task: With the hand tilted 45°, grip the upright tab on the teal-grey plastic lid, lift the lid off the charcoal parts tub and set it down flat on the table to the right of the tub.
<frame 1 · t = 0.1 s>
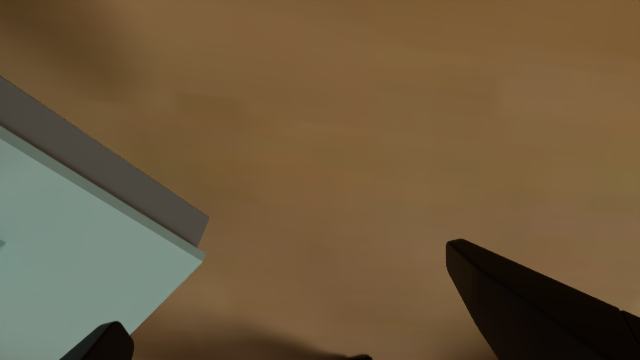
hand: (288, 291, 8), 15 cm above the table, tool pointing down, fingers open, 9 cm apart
tub: (42, 210, 21), on the table
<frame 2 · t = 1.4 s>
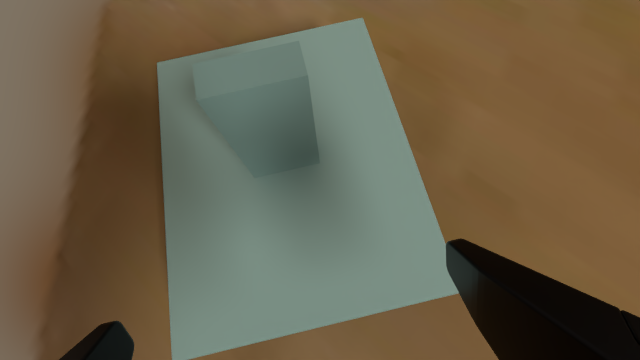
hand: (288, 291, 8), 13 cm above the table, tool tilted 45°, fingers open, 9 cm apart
lid: (287, 163, 19), point 4 cm above the table, touching tub
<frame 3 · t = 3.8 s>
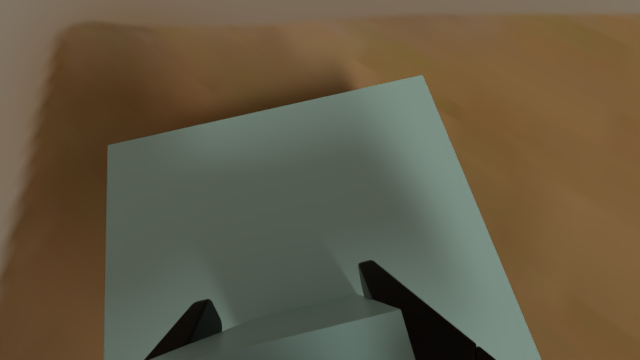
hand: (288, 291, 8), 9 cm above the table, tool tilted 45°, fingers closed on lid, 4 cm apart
lid: (311, 327, 12), point 4 cm above the table, touching gripper, tub
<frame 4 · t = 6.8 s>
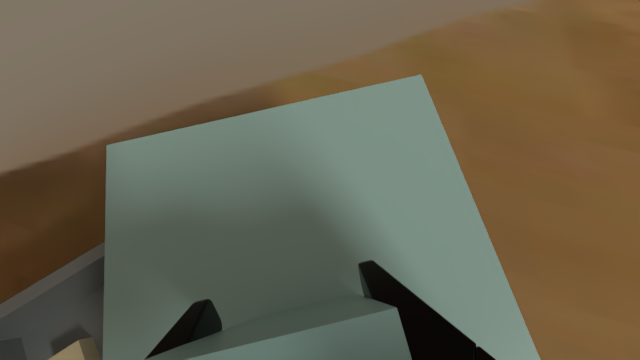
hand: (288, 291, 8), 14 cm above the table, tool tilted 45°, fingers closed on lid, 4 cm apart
lid: (310, 326, 12), point 9 cm above the table, touching gripper
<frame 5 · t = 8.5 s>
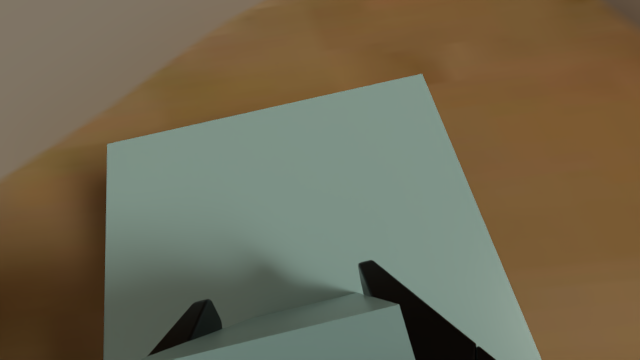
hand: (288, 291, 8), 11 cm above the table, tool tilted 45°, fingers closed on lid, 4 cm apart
lid: (311, 325, 12), point 7 cm above the table, touching gripper
when the fingers open (6 cm above the table, at t = 9.8 s): lid drops 2 cm, point 1 cm above the table.
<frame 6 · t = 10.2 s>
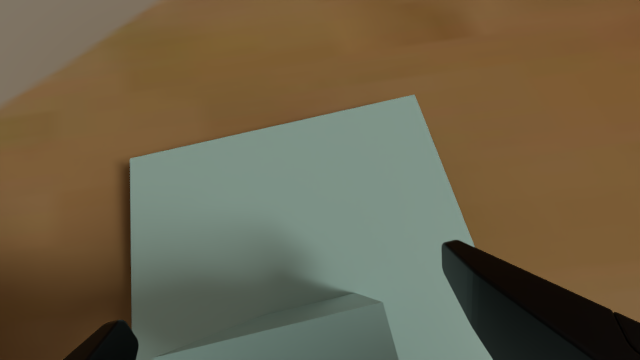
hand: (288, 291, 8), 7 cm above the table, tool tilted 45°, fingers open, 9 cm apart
lid: (314, 322, 13), point 1 cm above the table
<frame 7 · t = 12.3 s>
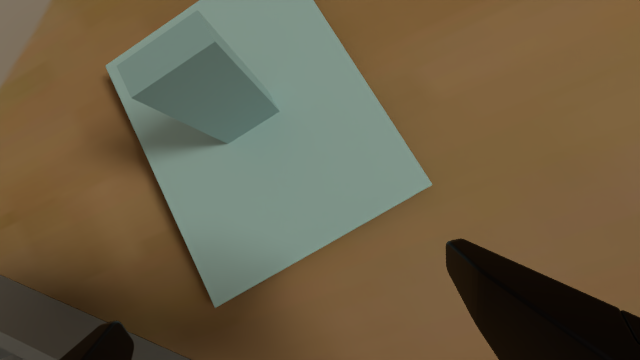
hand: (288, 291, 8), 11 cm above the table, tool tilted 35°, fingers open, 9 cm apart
lid: (253, 121, 20), point 1 cm above the table
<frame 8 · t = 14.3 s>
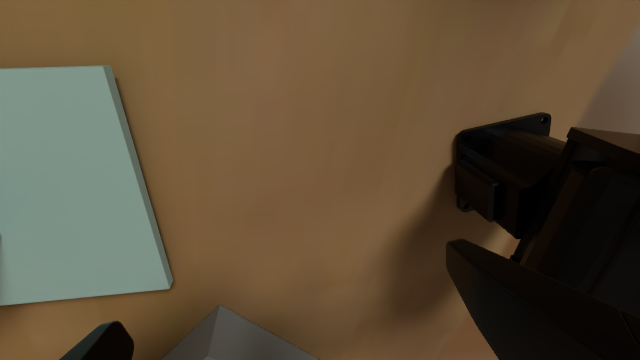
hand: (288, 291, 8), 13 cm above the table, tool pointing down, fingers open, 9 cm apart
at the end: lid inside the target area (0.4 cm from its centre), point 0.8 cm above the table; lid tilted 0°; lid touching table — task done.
